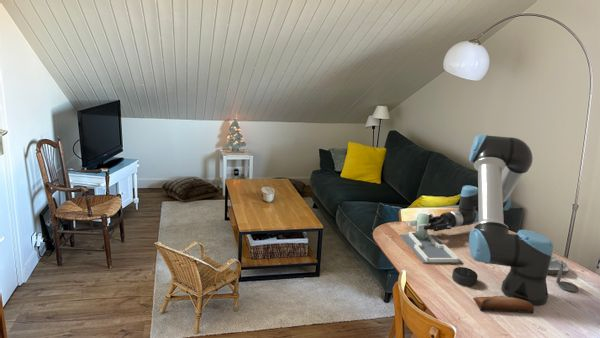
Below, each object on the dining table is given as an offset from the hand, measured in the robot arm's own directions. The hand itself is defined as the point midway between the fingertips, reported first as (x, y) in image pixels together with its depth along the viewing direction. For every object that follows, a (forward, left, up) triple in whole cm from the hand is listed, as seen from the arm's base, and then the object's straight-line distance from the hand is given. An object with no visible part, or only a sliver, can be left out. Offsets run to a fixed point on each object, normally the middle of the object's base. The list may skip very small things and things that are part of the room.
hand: (413, 225), depth 199 cm
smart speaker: (-36, -7, -8) cm, 38 cm away
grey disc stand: (-41, -45, -8) cm, 62 cm away
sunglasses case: (-54, -12, -8) cm, 55 cm away
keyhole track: (-8, -5, -7) cm, 12 cm away
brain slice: (-24, -47, -8) cm, 53 cm away
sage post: (+2, -5, -6) cm, 8 cm away
